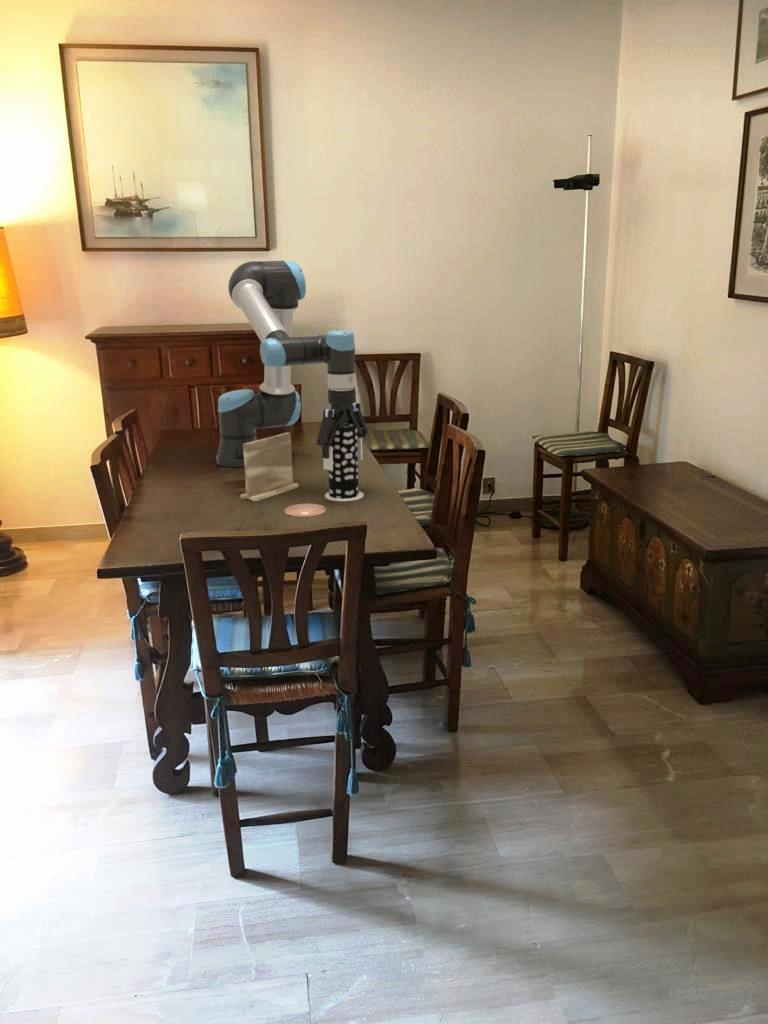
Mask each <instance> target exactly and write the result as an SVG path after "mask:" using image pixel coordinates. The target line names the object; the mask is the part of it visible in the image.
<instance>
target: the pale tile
mask: <svg viewBox="0 0 768 1024" xmlns="http://www.w3.org/2000/svg"><path fill="white" fill-rule="evenodd" d="M364 495H365V494H364V493H363V492H362V491H360V490H359V495H358V496H356V497H354V498H348V499H338V498H333V497H331V496H330V495H329V491H328V492H327V491H326V493H325V494H324V497H325V499H326V500H328V501H333V502H341V503H342V502H345V503H346V502H353V501H359V500H360V499H363V498H364V497H365V496H364Z"/></svg>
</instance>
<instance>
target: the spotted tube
mask: <svg viewBox="0 0 768 1024" xmlns="http://www.w3.org/2000/svg"><path fill="white" fill-rule="evenodd" d="M330 446H332V451H333V470H328V489H329V491H328V492H329V495H330V496H331V497H333V498H338V499H348V498H354V497H356V496H358V495H359V491H360V490H359V460H358V434H357V424H355V423H347V422H345V423H342V424H341V425H340V426H339V427H338V428H337V431H336V434H335V436H334V438H333V440H332V443H331V445H330Z"/></svg>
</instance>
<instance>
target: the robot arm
mask: <svg viewBox="0 0 768 1024" xmlns="http://www.w3.org/2000/svg"><path fill="white" fill-rule="evenodd" d="M227 286H228V294H229V296H230V299H231V300H232V303H233V304H234V305H235V306H236V308H240V309H241V311H242V312H243V314H244V315H245V317H246V319H247V321H248V322H249V324H250V326H251V327H252V329H253V330H254V332H255V334H256V336H257V337H258V339H259V340H260V345H259V355H260V359H261V362H262V363H263V365H264V370H263V371H264V374H263V375H264V376H263V377H264V381H263V382H262V383H261V384H260V385H259V387H258V388H259V392H257V393H255V392H254V390H253V389H247V388H245V389H244V388H243V389H237V390H236V389H235V390H232V391H228V392H224V393H222V394H221V395H220V396H219V397H218V398H217V412H218V425H219V434H220V435H219V436H220V437H219V438H220V441H219V446H218V452H217V454H216V455H215V457H216V459H215V460H216V464H217V465H218V466H221V467H227V468H228V467H229V468H230V467H231V468H243V467H244V451H243V444H244V443H248V442H252V441H256V440H258V439H257V430H259V429H269V428H270V429H271V428H283V427H286V426H292V425H294V424H296V422H297V421H298V420H299V418H300V415H301V410H302V407H301V406H302V405H301V404H302V403H301V397H300V394H299V393H298V391H297V390H296V387H295V386H294V385H293V384H292V383H291V382H292V381H291V380H292V378H291V377H292V366H301V365H319V364H326V369H327V370H326V372H327V387H328V388H329V389H328V390H327V397H328V398H327V401H328V403H329V404H330V406H331V407H330V409H325V408H324V409H323V411H322V419H321V423H320V427H319V432H318V434H317V439H316V442H315V443H316V445H317V446H319V447H321V453H322V454H321V455H322V459H323V470H328V471H329V470H333V451H332V446H330V445H331V443H332V440H333V438H334V436H335V434H336V431H337V428H338V427H339V426H340V425H341V424H342V423H345V422H347V423H355V424H357V434H358V461H363V457H364V456H363V454H364V453H363V448H364V447H363V446H364V438H366V437H367V434H368V432H369V430H368V427H367V424H366V422H365V418H364V416H363V412H362V408H361V407H362V406H361V403H359V402H356V401H357V400H356V399H357V398H356V397H357V396H356V390H355V387H356V343H355V334H354V332H353V331H351V330H345V329H343V330H342V329H340V330H337V329H335V330H329V331H328V332H327V333H326V334H325V333H324V334H316V335H314V336H298V337H297V336H296V337H294V336H293V324H294V323H293V322H294V311H296V310H297V309H298V308H299V301H302V300H303V299H305V295H306V294H307V285H306V278H305V274H304V272H303V269H302V267H301V266H300V265H299V264H298V263H297V262H296V261H290V260H288V261H287V260H264V261H262V260H261V261H256V260H254V261H253V260H252V261H247V262H245V263H242V264H240V265H239V266H237V268H234V270H233V272H232V274H231V276H230V278H229V280H228V285H227ZM244 468H245V467H244Z"/></svg>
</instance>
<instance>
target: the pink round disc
mask: <svg viewBox="0 0 768 1024" xmlns="http://www.w3.org/2000/svg"><path fill="white" fill-rule="evenodd" d="M326 512H327V508H326V507H325V506H324V505H321V504H317V503H297V504H293V505H290V506H287V507H286V508H285V509H284V514H286V515H288V516H289V515H290V517H295V518H311V517H312V518H313V517H317V516H321V515H323V514H325V513H326Z"/></svg>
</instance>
